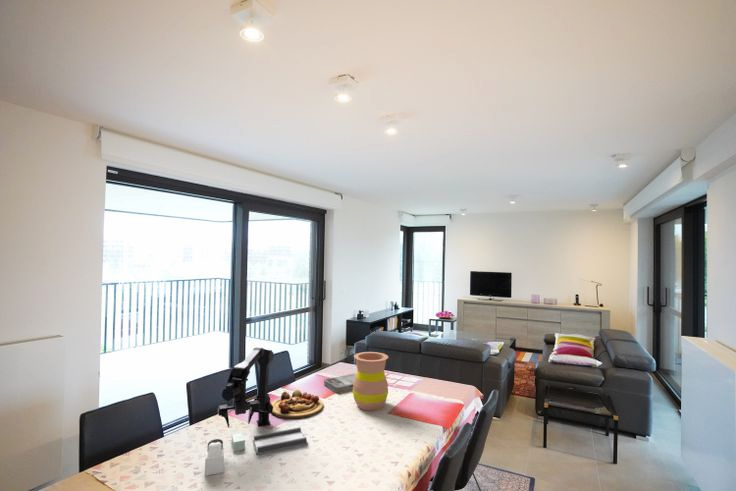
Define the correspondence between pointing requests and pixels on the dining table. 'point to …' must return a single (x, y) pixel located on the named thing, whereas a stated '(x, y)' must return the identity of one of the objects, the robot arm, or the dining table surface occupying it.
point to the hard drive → (340, 383)
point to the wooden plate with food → (296, 405)
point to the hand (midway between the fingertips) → (238, 425)
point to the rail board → (279, 441)
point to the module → (238, 442)
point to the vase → (370, 381)
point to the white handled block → (214, 457)
